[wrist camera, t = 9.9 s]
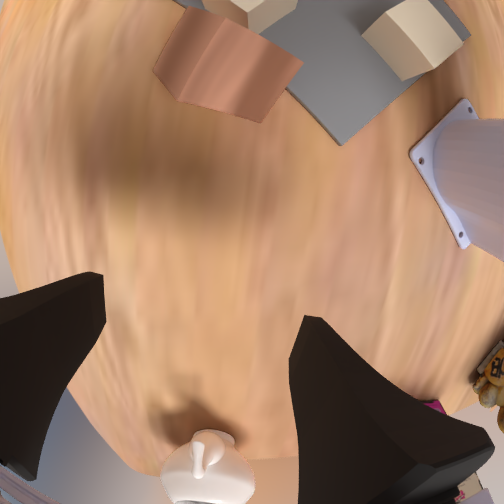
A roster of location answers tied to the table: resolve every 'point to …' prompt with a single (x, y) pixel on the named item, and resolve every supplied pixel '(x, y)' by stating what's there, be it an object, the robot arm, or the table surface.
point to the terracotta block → (224, 66)
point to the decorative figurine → (492, 382)
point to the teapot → (208, 471)
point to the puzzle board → (350, 50)
